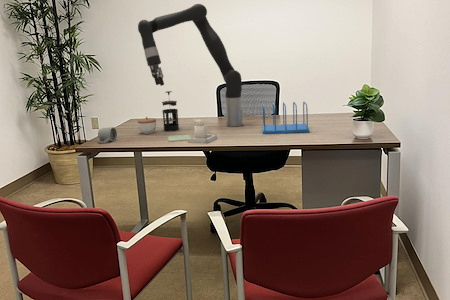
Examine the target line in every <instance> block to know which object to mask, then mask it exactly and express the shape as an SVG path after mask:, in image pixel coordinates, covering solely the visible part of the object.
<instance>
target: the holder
mask: <svg viewBox="0 0 450 300" xmlns="http://www.w3.org/2000/svg"><path fill="white" fill-rule="evenodd" d="M217 139H218V136H217V134H206V139H197V138H195V137H191V138H188V140H187V143H193V144H194V143H195V144H209V143H211V142H213V141H216V140H217Z"/></svg>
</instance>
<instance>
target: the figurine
mask: <svg viewBox="0 0 450 300" xmlns="http://www.w3.org/2000/svg"><path fill="white" fill-rule="evenodd" d="M192 121H193V122H194V123H195V124H194V126H193V127H194V128H193V132H194V138H197V139H206V134H207V135H210V127H209V124H205V122H204V121H205V120H204V118H197V119H196V118H194V119H192Z"/></svg>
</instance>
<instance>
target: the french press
mask: <svg viewBox="0 0 450 300" xmlns="http://www.w3.org/2000/svg"><path fill="white" fill-rule="evenodd" d="M164 93H165V94H166V93H167V95H168V96H170V93H173V91H170V90H169V91H165V92H164ZM161 103H162V106H163V107H164V106H166V105H167V106H168V105H169V107H168V108H169V109H168V108H166V109H163V110H162V111H161V112H162V119H163V121H162V122H163V132H176V131H179V130H180V123H179V115H178V112H179V110H178V109H177V108H171V107H174V106H177V103H178V101H177V100H170V98H168V100H164V101H161Z"/></svg>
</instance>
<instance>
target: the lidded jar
mask: <svg viewBox="0 0 450 300" xmlns="http://www.w3.org/2000/svg"><path fill="white" fill-rule="evenodd" d="M137 126H138V130H139V131H140V132H141V133H142V135H143V134H145V135H149V134H153V133H154V132H155V130H156V128H157V119H156V118H154V117H153V118H152V117H148V116H146V117H145V118H140V119H137Z"/></svg>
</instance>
